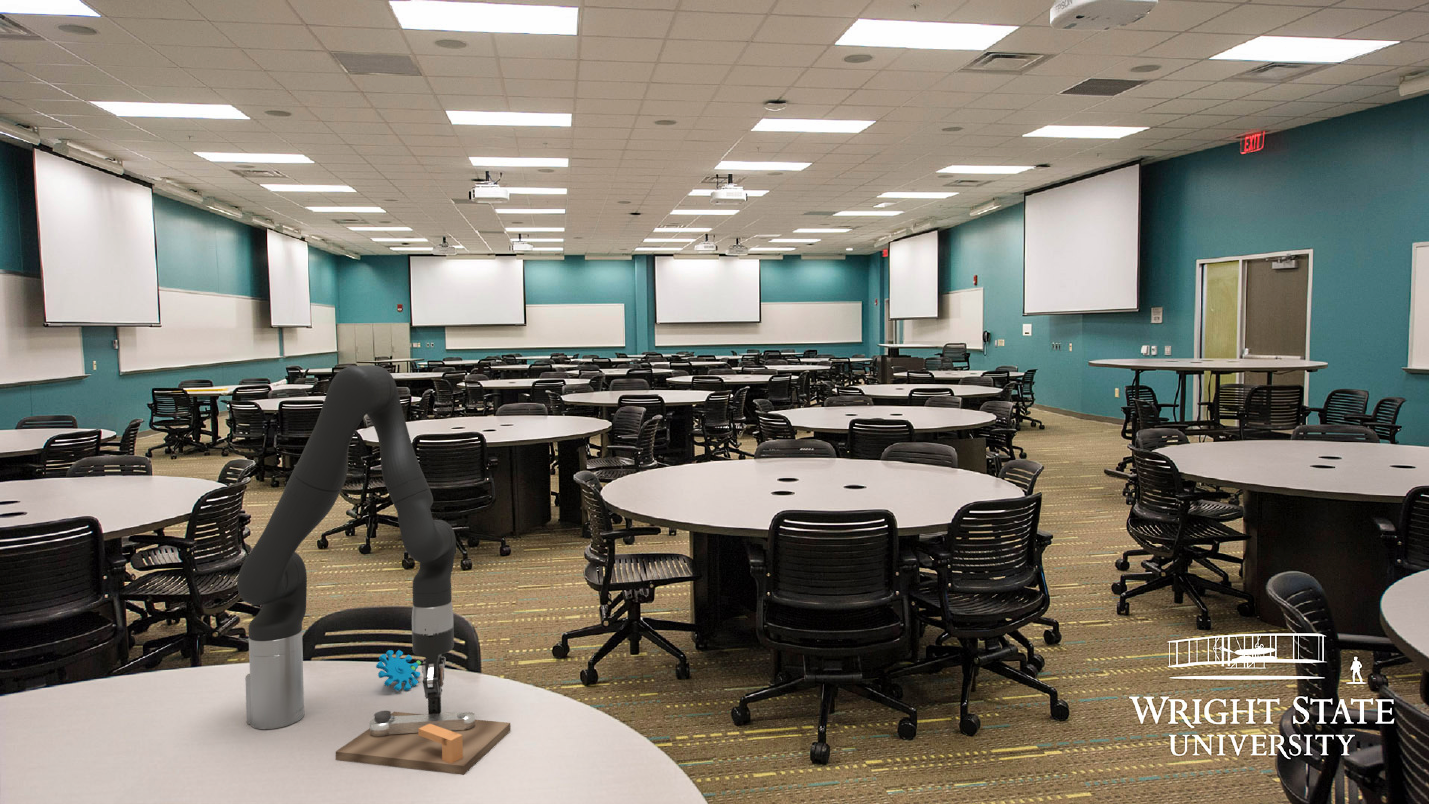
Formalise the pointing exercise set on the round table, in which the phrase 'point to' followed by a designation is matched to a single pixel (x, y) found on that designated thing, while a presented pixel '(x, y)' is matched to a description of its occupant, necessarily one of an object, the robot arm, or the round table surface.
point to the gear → (398, 670)
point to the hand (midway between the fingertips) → (434, 715)
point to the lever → (422, 723)
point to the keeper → (444, 741)
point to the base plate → (422, 747)
